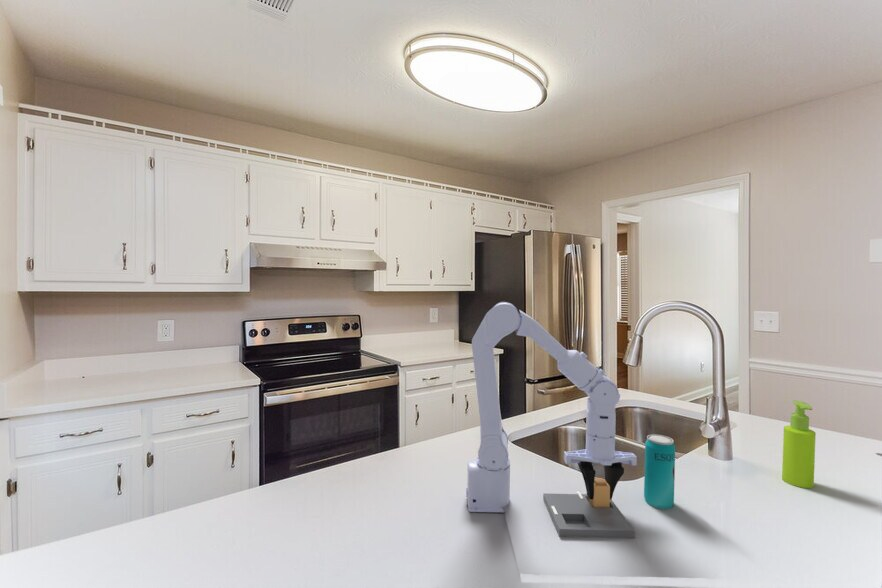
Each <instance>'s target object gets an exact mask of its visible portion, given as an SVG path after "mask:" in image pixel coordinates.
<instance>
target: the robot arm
mask: <svg viewBox="0 0 882 588" xmlns="http://www.w3.org/2000/svg"><path fill="white" fill-rule="evenodd" d="M518 310H519V311H518ZM513 332H515V334H516V336H520V337H526V338H530V339H531V340H532V341H533V342H534V343H536V344H537V345H538V346H539V347H541V348H542V349H543V350H544V351H545V352H547V353H548V355H550V356H551V357H552V358H553V359H554V360H556V361H557V370H558V371H559V372H560V373H561V374H562V375H563V376H564V377H566V378H567V379H568V380H569V381H570V382H571V383H572V384H573V385H575V387H577V388H578V389H579V390H580V391H583V392H584V393H585V395H586V396H588V397H587V399H586V400H587V401H586V402H587V404H586V406H587V407H586V413H585V414H586V415H585V416H586V419H585V420H586V422H585V424H586V425H585V427H586V428H585V449H578V450H571V451H563V461H564V462H565V464H566V465H572V464H577V465H578V468H579V470H580V472H581V475H582V478H583V482H584V486H585V490H586V494H587V496H588V497H589V499H593V497H594V479H595V478H596V473H597V471H596V470H595V469H594V465H593V464H600V465H601V466H603V467H604V479H605V481H606V482H607V483H608V485H609V486H610V500H612V499H613V495H614V492H615V489H616V487H617V484H618V483H619V481H620V480H621V478H622V476H623V475H624V474H625V473H624V472H625V468H624V467H623V465H630V466H637V464H638V463H637V462H638V459H637V458H638V457H637V455H636V454H634V453H633V452H628V451H627V452H625V451H620V450H619V451H618V450H616V448H615V447H616V422H617V421H616V418H617V417H616V416H617V414H616V405H617V404H618V403H619V401H620V398H621V394H620V392H619V389H618V386H617V385H616V383H614V381H613V380H611V379H610V377H608V376H607V374H605V373H606V372H605V370H603V369H602V368H599V369H598V367H596V366H595V365H594V364H593V363H592V362H590V360H588V359H587V358H588V355H587V354H586V353H585V352H584V351H578V350H576V349H566V347H564V346H563V345H562V344H561V343H560V342H559V341H558V340H557V339H556V338H555V337H554V336H552V334H550V333H549V332H548V331H547V330H546V329H545V328H544V327H543V326H542V325H541V324H540V323H539V322H538V321H537V320H536V319H534V318H532V316H530V315H528V314H527V313H525V312H524V311H522V310H521V309H518V308H517V307H516V306H515V305H514V304H513V303H510V302H507V301H500V302H498V303H496V304H495V305H493V306H492V308H491V309H489V310H488V311H487V312H486V313H485V315H484V317H483V319H482V321H481V322H480V324H479V325H478V328H477V330H476V332H475V334H474V335H473V337H472V338H471V349H472V350H471V351H472V357H473V358H472V359H473V369H474V377H475V385H476V386H475V387H476V395H477V402H478V403H477V405H478V413H479V422H480V425H479V426H480V438H479V439H480V441H479V442H480V443H479V448H478V451H477V459H476V460H474V461H468V462H467V483H466V484H467V486H466V487H465V488H466V489H465V493H466V495H465V496H466V498H467V506H468V512H469V513H506V510H505V507H506V506H508V505H509V504H510V501H511V500H510V499H511V498H510V497H511V496H510V491H511V489H510V488H511V460H510V458H509V451H508V444H509V436H508V434H507V432H506V431H505V429H504V427H503V421H502V415H501V405H500V395H499V388H498V377H497V371H496V370H497V368H496V361H495V359H496V358H495V352H494V350H495V349H494V348H495V347H496V346H497V344H499V342H500V341H501V340H502V339H503V338H504V337H506V336H509V335H510V334H512V333H513ZM612 501H613V500H612Z"/></svg>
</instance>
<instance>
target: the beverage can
mask: <svg viewBox="0 0 882 588" xmlns="http://www.w3.org/2000/svg"><path fill="white" fill-rule="evenodd" d="M674 443H675V441H674V439H673V438H671V437H670V436H667V435H663V434H655V433H654V434H653V433H652V434H648V435H647V436H646V441H645V443H644V447H645V448H644V478H643V480H644V483H643V484H644V485H643V486H644V487H643V497H644V500H645V502H646V503H647V504H648V505H650V506H652V507H654V508H657V509H660V510H661V509H662V510H667V509H668V510H669V509H671V508H673V506H674V503H675V480H676V479H675V472H676V470H675V469H676V446H675V444H674Z"/></svg>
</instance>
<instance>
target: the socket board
mask: <svg viewBox="0 0 882 588" xmlns="http://www.w3.org/2000/svg"><path fill="white" fill-rule="evenodd" d="M575 492H576V493H543V496H542V497H543V499H542V500H543V503H544V505H545V507H546V509H547V512H548V514H549V517H550V519H551V521H552V524H553V526H554V529H555V530H556V532H557V535H558V537H559V538H561V537H562V538H599V539H601V538H602V539H603V538H605V539H608V538H609V539H635V536H636V535H635V534H636V531H635V529H634V527H632V525H631V524H630V523H629V521H628V520H627V519H626V517H625V516H624V514H623V513H622V512H621V510H620V509H619V508H618V506H617V505H616V504H615V503H614V501H613V500H610V508H604V507H592V506H591V505H590V503H589V497H588V496H587V493H581V492H580V491H578V490H576V491H575Z"/></svg>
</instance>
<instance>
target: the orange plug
mask: <svg viewBox="0 0 882 588" xmlns="http://www.w3.org/2000/svg"><path fill="white" fill-rule="evenodd" d="M589 503H590V505H591V506H592V507H604V508H610V486H609V485H608V483H607V482H606V481H605V478H603V477H595V479H594V497H593V499H589Z"/></svg>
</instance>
